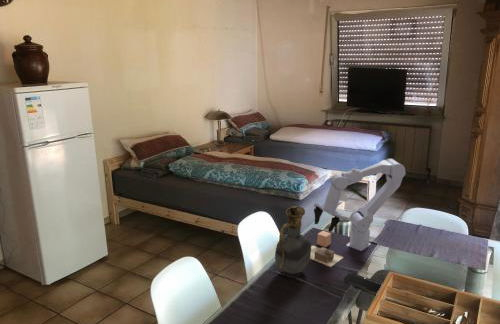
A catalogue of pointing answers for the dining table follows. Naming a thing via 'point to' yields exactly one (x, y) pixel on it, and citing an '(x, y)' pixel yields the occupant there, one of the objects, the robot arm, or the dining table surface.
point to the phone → (362, 283)
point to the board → (330, 263)
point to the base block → (324, 255)
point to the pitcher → (293, 245)
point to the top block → (324, 239)
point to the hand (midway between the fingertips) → (323, 227)
